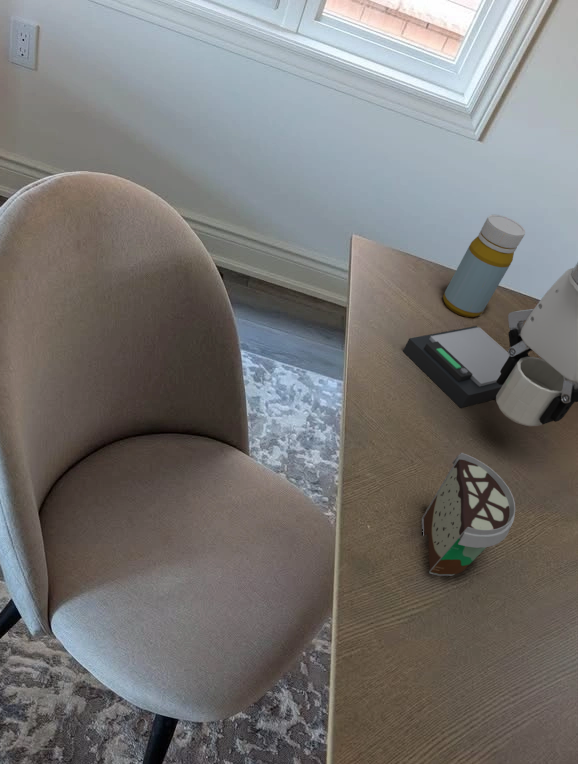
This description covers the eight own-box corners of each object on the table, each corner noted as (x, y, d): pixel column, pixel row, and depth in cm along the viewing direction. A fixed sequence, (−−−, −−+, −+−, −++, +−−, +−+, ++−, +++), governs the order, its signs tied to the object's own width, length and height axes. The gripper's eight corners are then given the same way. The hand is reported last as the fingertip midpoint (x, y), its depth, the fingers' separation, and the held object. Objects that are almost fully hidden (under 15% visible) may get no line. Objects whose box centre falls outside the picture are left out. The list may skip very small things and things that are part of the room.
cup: (517, 388, 100) (541, 352, 95) (555, 422, 96) (581, 386, 92) (483, 398, 96) (506, 361, 92) (521, 433, 93) (547, 397, 89)
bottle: (455, 290, 129) (499, 210, 119) (488, 313, 127) (536, 232, 116) (433, 299, 125) (477, 216, 115) (466, 323, 123) (514, 240, 112)
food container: (477, 607, 80) (527, 549, 73) (423, 590, 80) (467, 531, 73) (470, 524, 89) (514, 465, 82) (421, 509, 89) (460, 449, 82)
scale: (469, 338, 119) (480, 318, 117) (527, 390, 113) (540, 371, 110) (402, 351, 112) (412, 330, 109) (460, 408, 105) (473, 388, 103)
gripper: (691, 321, 80) (595, 440, 93) (570, 234, 89) (497, 354, 101) (652, 331, 76) (558, 454, 89) (530, 239, 85) (459, 363, 98)
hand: (526, 400), depth 95 cm, fingers closed on cup, 6 cm apart
